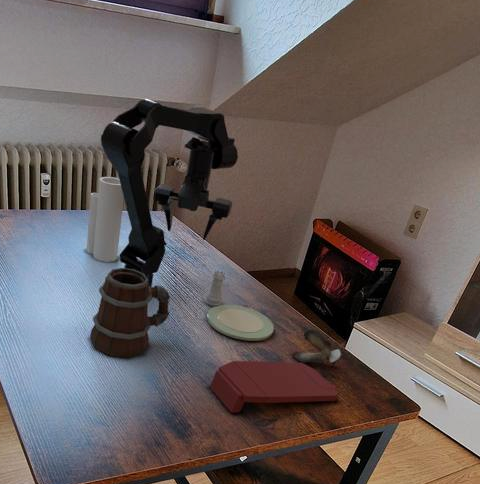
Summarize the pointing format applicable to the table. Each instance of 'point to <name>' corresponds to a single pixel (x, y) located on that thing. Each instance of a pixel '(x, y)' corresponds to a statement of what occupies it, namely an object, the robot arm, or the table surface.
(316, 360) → the eagle figurine
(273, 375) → the dark red wedge slab
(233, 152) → the robot arm
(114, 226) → the vase
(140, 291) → the mug
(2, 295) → the table surface
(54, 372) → the table surface
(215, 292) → the rook chess piece
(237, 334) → the plate
